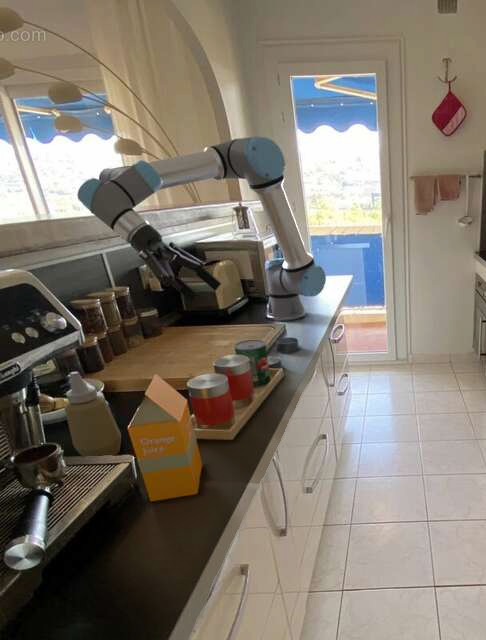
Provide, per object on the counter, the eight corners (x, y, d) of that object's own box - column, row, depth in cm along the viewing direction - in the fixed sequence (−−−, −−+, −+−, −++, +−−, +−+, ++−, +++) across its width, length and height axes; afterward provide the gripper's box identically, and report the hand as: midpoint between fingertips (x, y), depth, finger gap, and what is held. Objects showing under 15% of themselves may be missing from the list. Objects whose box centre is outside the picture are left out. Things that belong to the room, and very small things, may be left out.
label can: (207, 416, 104) (198, 372, 99) (241, 417, 103) (233, 373, 98) (190, 434, 96) (179, 388, 92) (227, 435, 96) (217, 389, 91)
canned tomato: (238, 380, 123) (231, 342, 118) (267, 375, 126) (262, 337, 121) (243, 390, 117) (236, 351, 112) (273, 385, 120) (268, 346, 115)
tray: (243, 375, 127) (242, 367, 126) (283, 376, 126) (282, 368, 125) (179, 439, 95) (176, 429, 94) (232, 441, 95) (230, 431, 94)
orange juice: (149, 501, 77) (116, 397, 68) (159, 473, 84) (130, 375, 76) (198, 493, 79) (172, 391, 70) (203, 466, 86) (181, 370, 78)
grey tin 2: (281, 345, 150) (279, 337, 149) (301, 346, 150) (300, 337, 149) (274, 352, 144) (273, 343, 143) (295, 353, 144) (294, 344, 142)
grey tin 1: (262, 365, 134) (260, 355, 133) (284, 365, 134) (283, 356, 133) (253, 374, 128) (252, 364, 127) (277, 374, 128) (276, 365, 126)
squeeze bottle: (69, 463, 87) (35, 379, 79) (103, 442, 94) (75, 363, 86) (103, 469, 85) (72, 383, 78) (135, 447, 93) (110, 366, 85)
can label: (229, 394, 114) (221, 354, 110) (260, 395, 114) (254, 355, 109) (215, 409, 107) (206, 366, 102) (248, 410, 107) (240, 367, 102)
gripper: (159, 239, 128) (219, 291, 134) (100, 251, 106) (176, 314, 112) (172, 219, 126) (233, 273, 132) (115, 227, 104) (192, 293, 109)
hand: (207, 292), depth 122 cm, fingers open, 13 cm apart
